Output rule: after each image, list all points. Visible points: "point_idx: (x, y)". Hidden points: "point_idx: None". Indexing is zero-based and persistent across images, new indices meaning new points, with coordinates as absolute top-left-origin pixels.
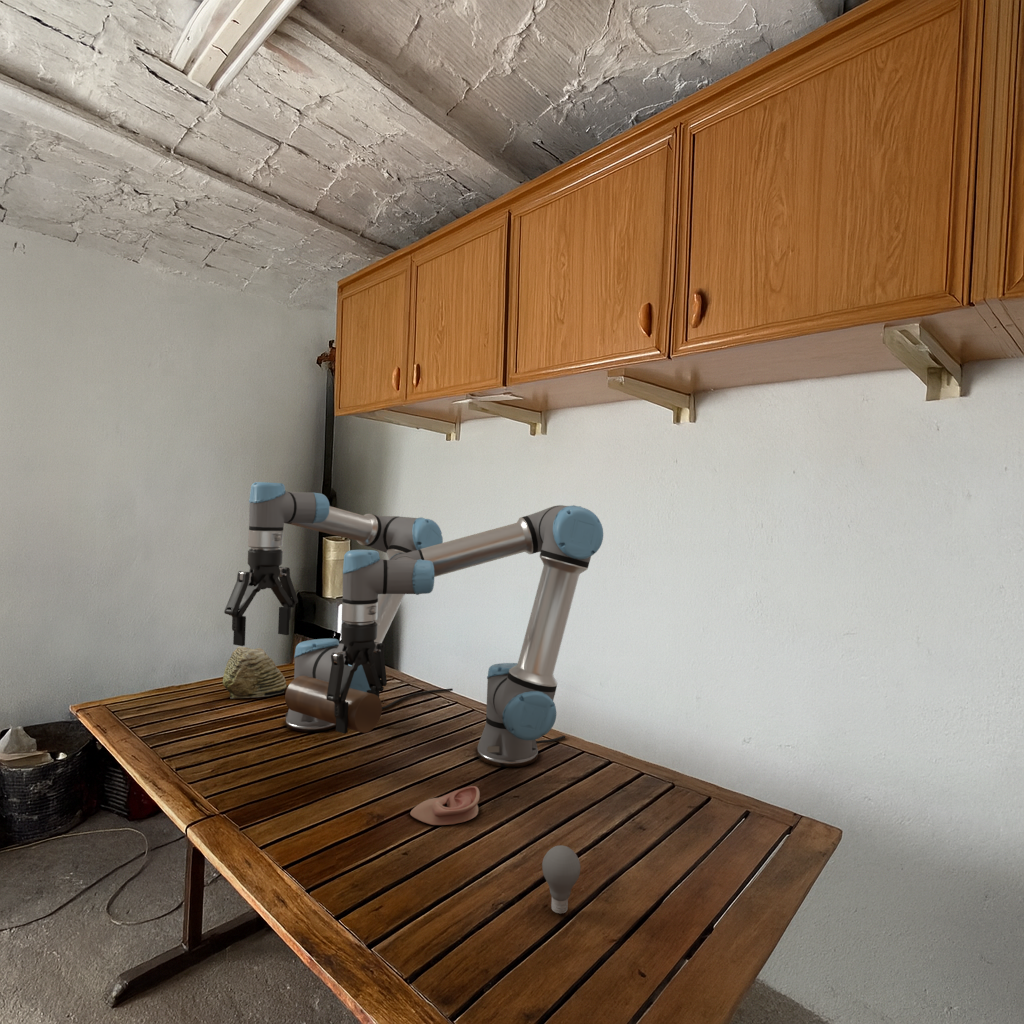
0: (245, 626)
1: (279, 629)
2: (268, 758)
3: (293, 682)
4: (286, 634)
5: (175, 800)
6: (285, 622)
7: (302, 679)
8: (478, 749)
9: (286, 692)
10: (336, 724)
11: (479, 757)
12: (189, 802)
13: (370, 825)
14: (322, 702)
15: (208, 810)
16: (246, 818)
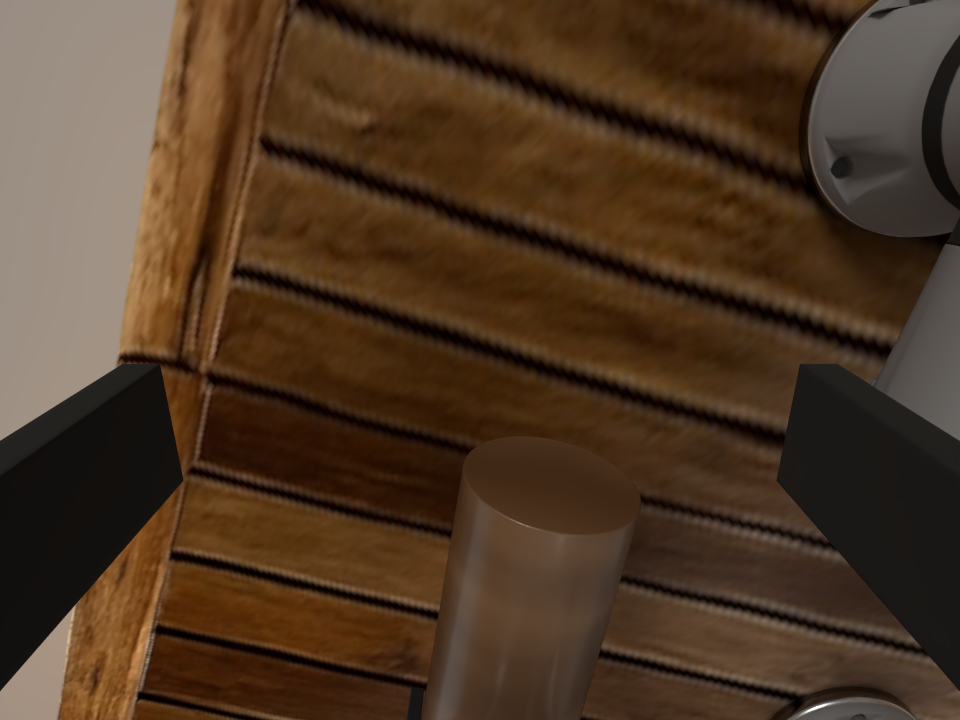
0: (46, 635)
1: (825, 405)
2: (537, 221)
3: (496, 530)
4: (779, 483)
5: (170, 209)
6: (869, 550)
7: (523, 574)
8: (807, 716)
9: (464, 486)
10: (408, 711)
11: (785, 709)
12: (189, 255)
13: (368, 667)
14: (431, 692)
15: (196, 338)
16: (230, 446)
